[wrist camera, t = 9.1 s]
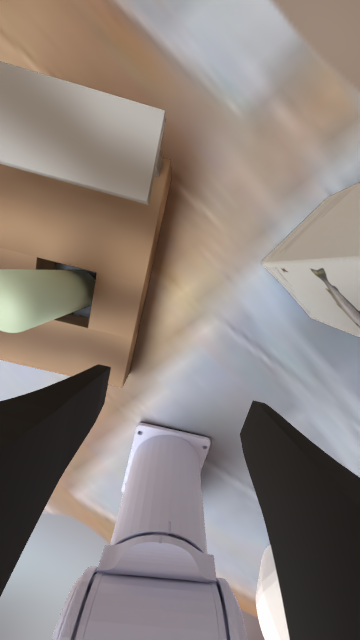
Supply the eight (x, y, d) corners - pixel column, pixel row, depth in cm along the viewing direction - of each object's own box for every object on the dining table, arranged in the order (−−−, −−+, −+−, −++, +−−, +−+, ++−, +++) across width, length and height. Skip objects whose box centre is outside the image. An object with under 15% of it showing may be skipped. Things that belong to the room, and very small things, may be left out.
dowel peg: (94, 311, 19) (36, 339, 12) (58, 302, 19) (-27, 324, 11) (101, 275, 19) (42, 279, 11) (63, 265, 18) (-25, 261, 11)
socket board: (128, 374, 21) (103, 425, 14) (7, 345, 20) (-82, 384, 13) (172, 175, 17) (164, 110, 10) (20, 132, 16) (-99, 31, 9)
